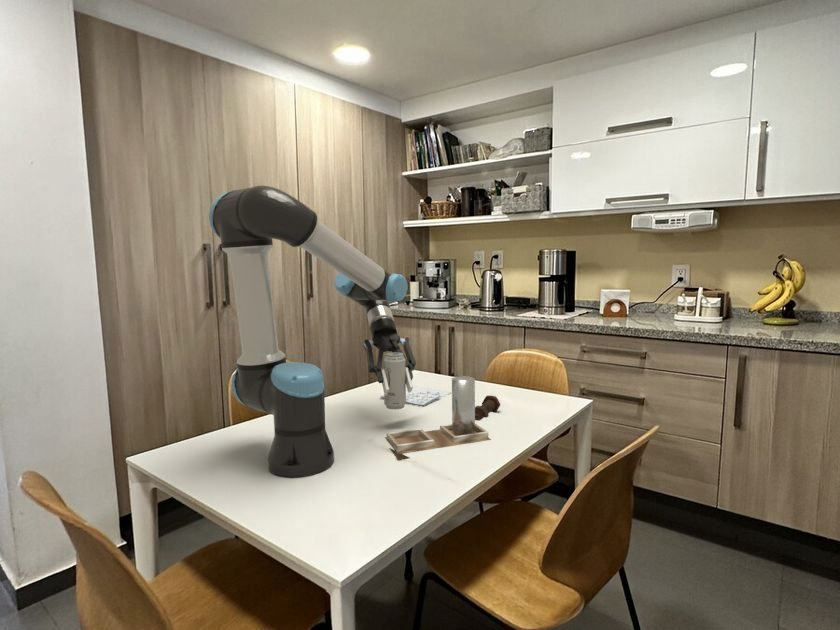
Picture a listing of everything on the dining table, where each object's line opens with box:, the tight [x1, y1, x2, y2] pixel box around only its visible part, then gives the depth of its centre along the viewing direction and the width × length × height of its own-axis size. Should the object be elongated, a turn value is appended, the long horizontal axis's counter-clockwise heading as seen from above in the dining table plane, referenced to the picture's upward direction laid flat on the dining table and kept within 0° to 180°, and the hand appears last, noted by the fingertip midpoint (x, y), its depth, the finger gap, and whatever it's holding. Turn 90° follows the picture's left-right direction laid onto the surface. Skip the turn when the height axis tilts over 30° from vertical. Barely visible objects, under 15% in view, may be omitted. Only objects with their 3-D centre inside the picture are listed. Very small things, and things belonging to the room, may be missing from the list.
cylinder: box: [451, 375, 476, 436], centre depth 125 cm, size 6×6×15 cm
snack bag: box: [379, 384, 452, 407], centre depth 169 cm, size 19×20×2 cm
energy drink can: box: [383, 351, 407, 410], centre depth 132 cm, size 6×6×15 cm
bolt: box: [475, 395, 501, 422], centre depth 144 cm, size 6×5×15 cm
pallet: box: [384, 423, 492, 461], centre depth 123 cm, size 25×12×3 cm, turn 110°
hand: (398, 390), depth 129 cm, fingers closed on energy drink can, 6 cm apart
